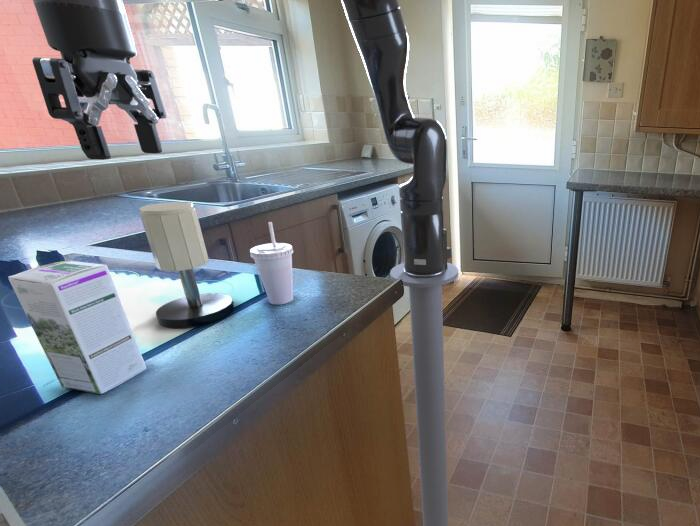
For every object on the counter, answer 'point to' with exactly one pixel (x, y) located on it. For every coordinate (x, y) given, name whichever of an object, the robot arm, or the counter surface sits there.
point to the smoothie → (275, 269)
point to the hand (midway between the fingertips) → (128, 155)
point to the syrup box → (80, 324)
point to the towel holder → (194, 306)
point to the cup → (174, 235)
